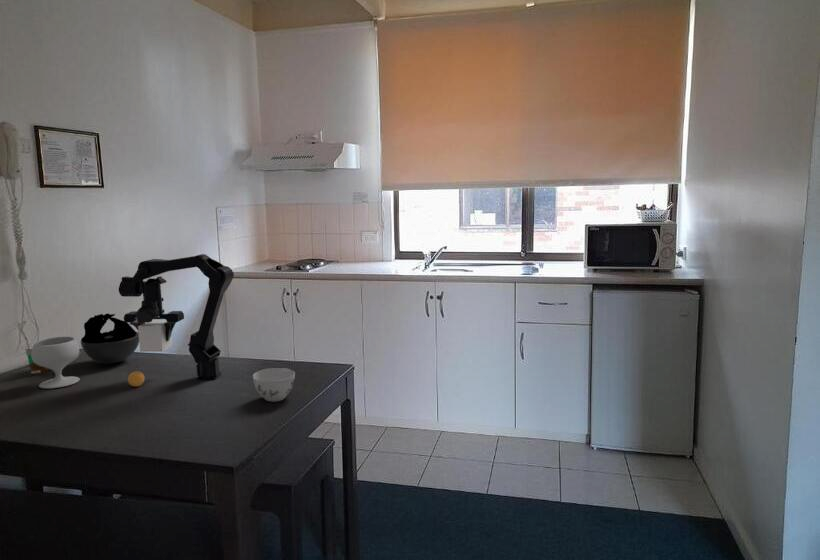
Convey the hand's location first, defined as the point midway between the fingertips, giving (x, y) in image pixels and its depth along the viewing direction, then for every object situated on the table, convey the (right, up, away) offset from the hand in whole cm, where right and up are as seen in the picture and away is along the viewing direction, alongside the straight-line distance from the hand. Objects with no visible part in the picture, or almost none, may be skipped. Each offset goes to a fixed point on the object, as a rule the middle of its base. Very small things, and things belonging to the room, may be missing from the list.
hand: (156, 341), depth 204 cm
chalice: (-32, -14, -2) cm, 35 cm away
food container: (-45, -13, +13) cm, 48 cm away
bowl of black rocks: (-25, -11, +21) cm, 35 cm away
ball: (-3, -12, -8) cm, 14 cm away
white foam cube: (0, -3, 0) cm, 3 cm away
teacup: (+47, -15, -22) cm, 54 cm away
